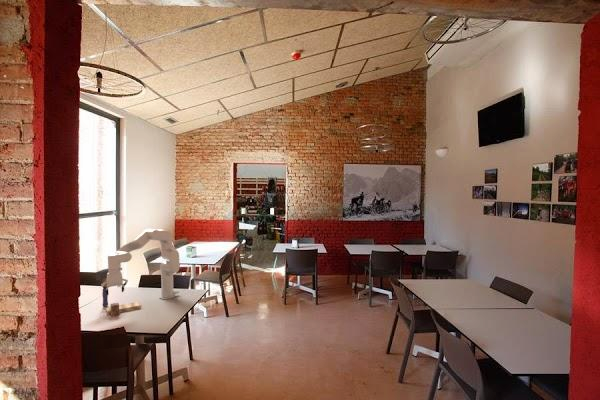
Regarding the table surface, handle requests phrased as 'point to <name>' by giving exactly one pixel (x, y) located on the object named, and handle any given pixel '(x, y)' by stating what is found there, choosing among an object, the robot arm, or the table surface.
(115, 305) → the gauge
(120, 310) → the board
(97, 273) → the rubber mallet
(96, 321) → the table surface
